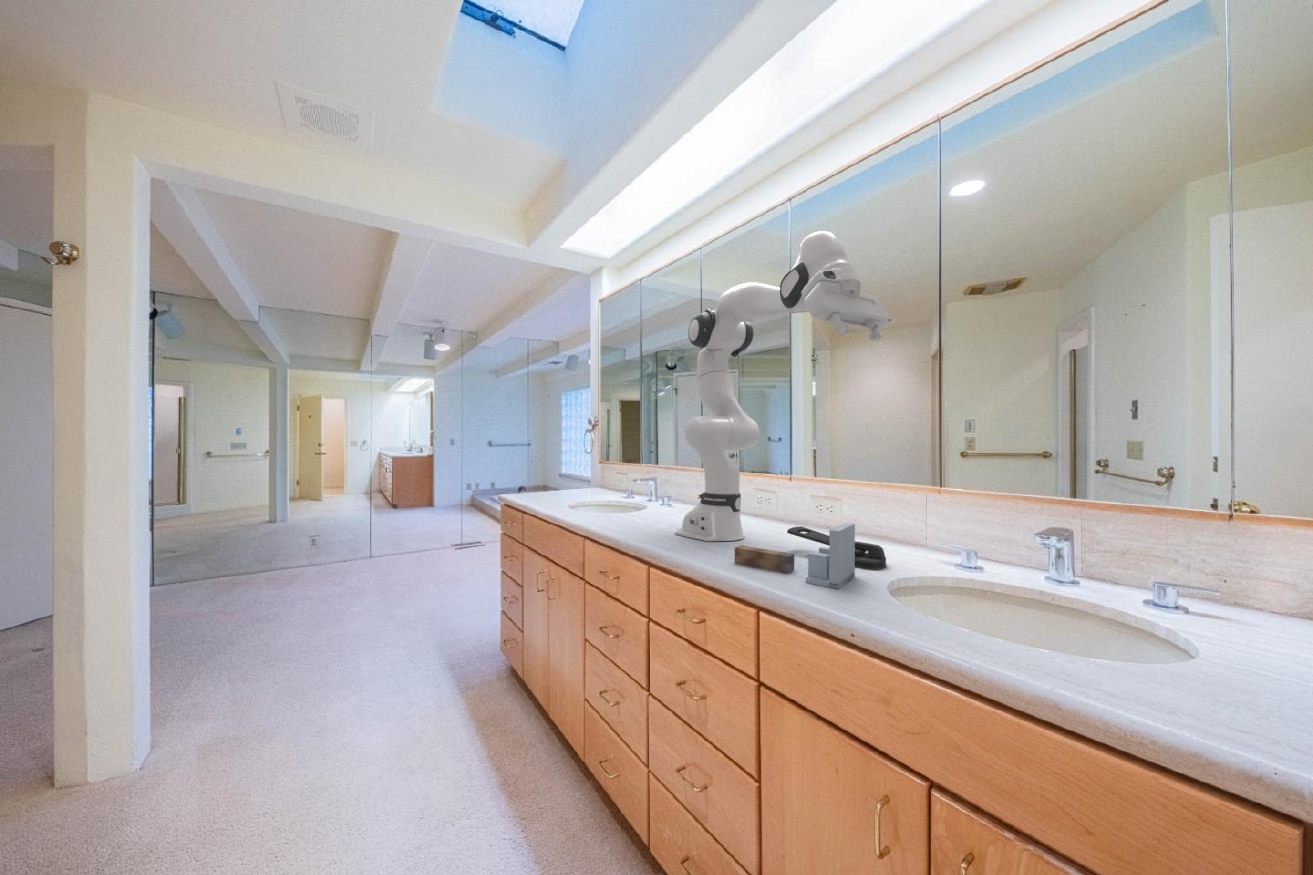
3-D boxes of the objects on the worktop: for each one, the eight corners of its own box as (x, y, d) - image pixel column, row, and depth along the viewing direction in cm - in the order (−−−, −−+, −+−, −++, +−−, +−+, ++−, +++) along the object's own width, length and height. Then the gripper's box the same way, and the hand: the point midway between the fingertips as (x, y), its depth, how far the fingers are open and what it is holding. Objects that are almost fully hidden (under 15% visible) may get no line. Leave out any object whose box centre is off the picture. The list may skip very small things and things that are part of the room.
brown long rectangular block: (734, 563, 115) (734, 547, 115) (741, 560, 117) (741, 545, 117) (788, 573, 106) (788, 556, 106) (794, 570, 109) (794, 553, 109)
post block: (805, 582, 99) (805, 527, 99) (823, 570, 109) (823, 520, 109) (838, 589, 95) (839, 531, 95) (854, 576, 104) (854, 523, 105)
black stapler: (800, 525, 133) (891, 539, 115) (800, 548, 133) (891, 565, 115) (783, 529, 127) (877, 544, 109) (783, 553, 127) (876, 572, 109)
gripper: (861, 305, 110) (884, 351, 104) (794, 291, 101) (815, 341, 95) (882, 285, 105) (907, 333, 98) (813, 270, 96) (835, 320, 90)
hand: (861, 336), depth 97 cm, fingers open, 8 cm apart
